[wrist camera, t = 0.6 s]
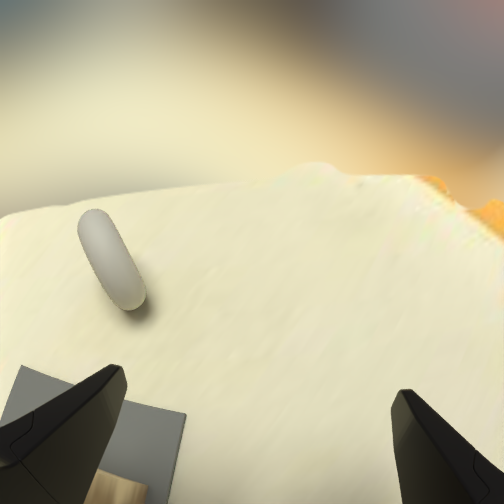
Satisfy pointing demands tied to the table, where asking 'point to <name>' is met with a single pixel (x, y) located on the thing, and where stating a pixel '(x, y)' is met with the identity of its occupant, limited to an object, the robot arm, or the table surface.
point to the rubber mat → (115, 433)
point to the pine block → (115, 490)
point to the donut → (111, 260)
